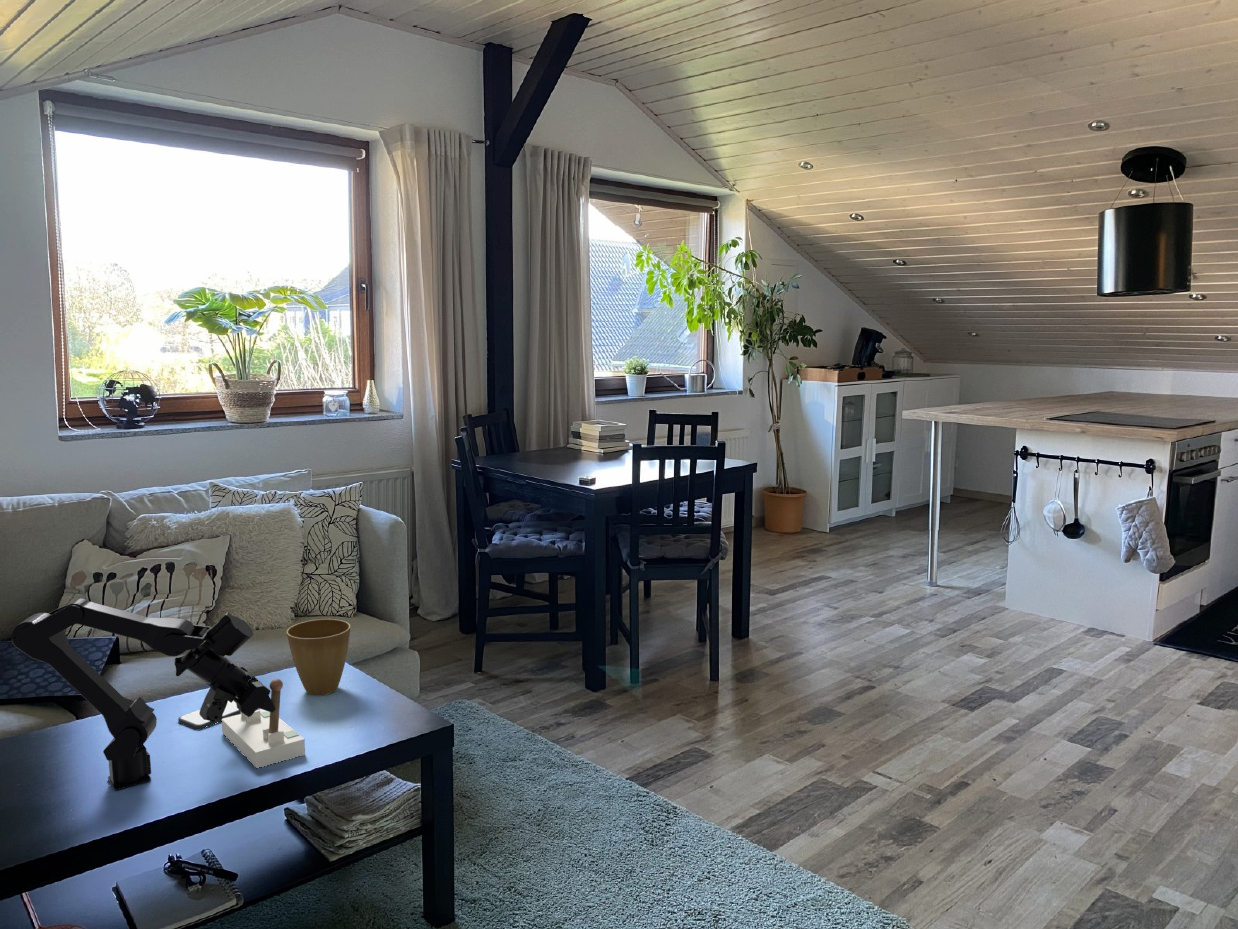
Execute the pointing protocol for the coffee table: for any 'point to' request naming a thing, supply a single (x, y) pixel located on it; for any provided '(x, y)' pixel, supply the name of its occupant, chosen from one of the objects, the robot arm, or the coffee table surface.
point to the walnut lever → (275, 704)
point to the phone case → (199, 723)
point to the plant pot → (319, 653)
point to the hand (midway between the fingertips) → (273, 710)
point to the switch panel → (262, 738)
